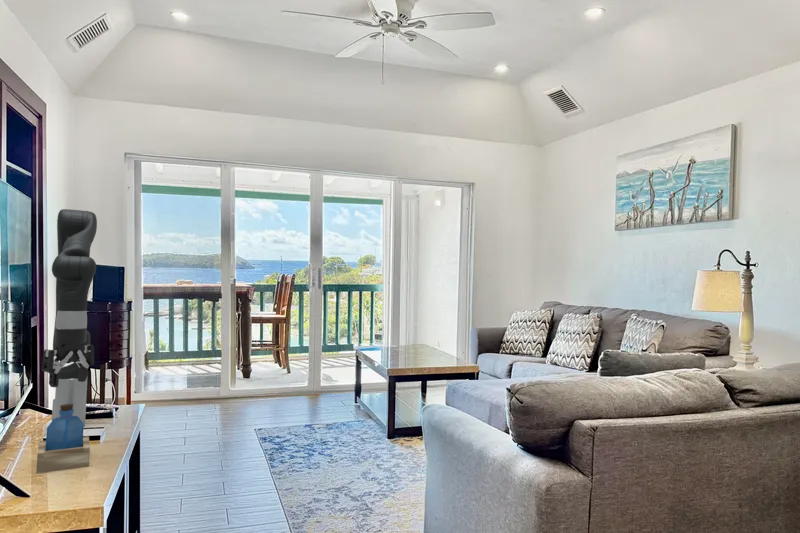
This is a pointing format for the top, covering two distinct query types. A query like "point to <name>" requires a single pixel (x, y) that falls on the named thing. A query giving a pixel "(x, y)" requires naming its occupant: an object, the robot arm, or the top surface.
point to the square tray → (62, 457)
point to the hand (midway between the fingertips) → (68, 384)
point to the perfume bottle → (65, 430)
